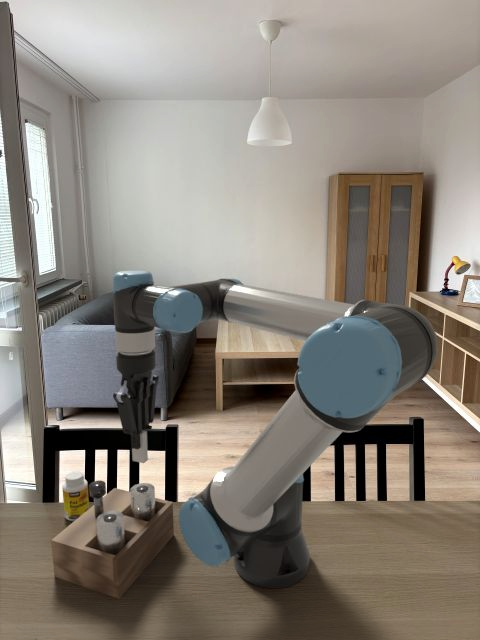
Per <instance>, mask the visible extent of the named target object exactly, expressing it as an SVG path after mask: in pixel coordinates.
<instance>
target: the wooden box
mask: <svg viewBox="0 0 480 640" xmlns="http://www.w3.org/2000/svg"><path fill="white" fill-rule="evenodd" d="M103 507H104V513H105V512H108V511H118V512H121V513H122V514H123V515H124V531H125V547H124V548H123V549H122V550H121V551H120V552H119V553H118V554H117V555H116V556H115V555H112V554H109V553H106V552H102V551H99V550H98V537H97V522H96V520H97V518H96V517H95V510H94V504H93V505H92V506H91V507H89V509H88V510H87V511H86V512H85V513H84V514H82V515H81V516H80V517H79V518H78V519H76V520H75V521H72V523H70V524H69V525H68V526H67V527H65V528H64V529H63V530H62V531H61V532H59V533H58V534H57V535H56V536H54V537H53V538H52V539H51V540H50V541H51V552H52V553H51V554H52V562H53V563H52V564H53V565H52V566H53V575H54V578H58V579H60V580H63V581H66V582H68V583H72V584H75V585H78V586H80V587H83V588H86V589H90V590H93V591H95V592H98V593H101V594H103V595H106V596H107V595H108V596H111V597H113V598H116V599H121V598H122V596H124V594H125V593H126V592H127V590H129V588H130V587H131V586H132V585H133V583H134V582H135V581H136V580H137V579H138V578H139V577H140V576H141V574H142V573H143V572H144V571H145V569H147V568H148V566H149V565H150V564H151V563H152V562H153V560H154V559H155V558H156V557H157V556H158V554H159V553H160V552H161V551H162V550H163V548H165V547H166V545H167V544H168V543H169V542H170V540H171V539H172V538H173V536H174V535H175V534H174V532H175V531H174V530H175V529H174V527H175V526H174V502H173V501H169V500H166V499H161V498H158V497H155V511H156V515H155V516H154V517H153V518H152V519H151V520H150V521H149V522H147V521H143V520H140V519H136V518H132V516H131V497H130V490H129V491H128V490H124V489H120V488H117V487H114V488H113V489H112V490H110V491H109V492H108V493H106V494H105V495H104V496H103Z"/></svg>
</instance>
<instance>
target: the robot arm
mask: <svg viewBox="0 0 480 640" xmlns="http://www.w3.org/2000/svg"><path fill="white" fill-rule="evenodd" d="M154 283H155V282H154V279H153V274H152V273H151V272H150V271H147V270H122V271H118V272H116V273H115V274H114V275H113V277H112V293H111V294H112V302H113V303H112V304H113V318H114V329H115V331H114V332H115V350H117V352H116V354H115V358H116V370H117V371H118V372H119V373H120V374H121V381H120V386H121V388H120V389H119V391H118V392H116V391H115V392H113V395H112V398H113V399H114V401H115V402H116V407H117V409H118V414H119V419H120V424H121V428H122V432H123V434H126V435H130V445H131V446H130V447H131V452H132V453H131V455H132V456H131V457H132V458H131V459H132V462H137V463H141V464H144V463H146V462H147V461H149V458H148V457H149V456H148V453H149V452H148V431H151V430H152V429H153V425H150V424H153V422H154V418H155V417H154V416H155V407H156V406H155V405H156V397H157V395H156V394H157V386H158V384H159V379H160V376H159V375H155V374H153V371H154V370H155V368H156V365H157V364H156V351H155V350H154V349H155V348H156V338H155V337H156V336H155V334H156V333H155V328H157V329H158V328H159V329H161V330H165V331H166V332H170V333H181V334H187V333H190V332H192V331H193V330H194V329H195V328H196V327H197V326H199V324H200V323H205V322H209V321H213V320H218V321H219V320H220V321H222V322H223V321H224V322H227V323H232V324H237V325H240V326H243V327H244V326H246V327H248V328H253V329H257V330H259V331H260V330H261V331H265V332H268V333H271V334H275V335H280V336H284V337H287V338H290V339H291V338H292V339H296V340H300V341H304V343H303V345H302V347H301V349H300V351H299V355H298V360H297V366H298V367H299V368H298V369H297V370H296V372H295V375H294V378H293V379H294V380H293V383H294V389H295V390H294V391H293V393H292V394H291V396H289V398H288V399H287V400H286V401H285V403H284V404H283V405H282V407H280V409H279V410H278V412H277V413H276V414H275V415H274V416H273V417H272V419H271V420H270V421H269V422H268V424H267V425H266V426H265V427H264V429H263V430H262V432H261V433H260V434H259V435H258V436H257V438H256V439H255V440H254V441H253V442H252V443H251V445H250V446H249V447H248V448H247V450H246V452H244V453H243V454H242V456H241V457H240V459H239V460H238V461H237V462H236V464H235V465H234V466H227V467H224V468H222V469H221V470H220V471H218V472H217V473H216V474H214V477H213V478H212V479H211V481H210V482H209V483H208V484H207V486H206V487H205V488H204V489H203V490H202V491H200V493H198V494H197V495H194V496H191V497H189V498H188V499H187V500H186V501H185V502H183V503H182V504H181V506H180V508H179V511H178V524H179V528H180V532H181V534H182V537H183V539H184V541H185V543H186V545H187V547H188V549H189V550H190V551H191V553H192V554H193V555H194V556H195V557H196V559H198V560H199V561H200V562H202V563H203V564H205V565H206V566H209V567H219V566H221V565H222V564H224V563H225V562H226V563H228V562H229V561H230V560H231V559H232V558H233V563H234V567H235V570H236V572H237V573H238V574H239V576H240V577H241V578H242V579H244V580H245V581H247V582H248V583H250V584H252V585H254V586H257V587H261V588H267V589H282V588H287V587H290V586H293V585H295V584H297V583H299V582H301V580H302V579H304V578H305V576H306V575H307V574H308V572H309V569H310V551H309V550H310V549H309V547H308V543H307V542H306V538H305V534H304V532H303V530H302V520H303V495H304V494H303V493H304V492H303V491H304V490H303V489H304V481H305V478H304V474H305V472H306V471H307V470H308V469H309V467H310V466H312V465H313V463H314V462H315V461H316V460H317V459H319V457H320V456H321V455H322V454H323V453H324V452H325V451H326V450H327V449H328V447H330V446H331V444H333V443H334V441H336V440H337V438H338V437H340V436H341V434H342V433H355V432H359V431H361V430H362V429H364V427H365V426H366V425H367V424H368V423H369V422H371V420H372V419H373V418H374V417H376V415H377V414H379V412H380V411H382V410H383V408H385V406H387V404H388V403H389V402H390V401H392V400H393V399H394V398H395V397H396V396H398V395H399V394H400V393H402V392H404V391H406V390H407V389H409V388H410V387H412V386H414V385H416V384H417V383H419V382H420V381H422V380H423V379H424V378H425V377H427V375H429V373H430V372H431V371H432V370H433V369H432V368H433V367H434V365H435V364H436V362H437V357H438V353H439V343H438V336H437V334H436V333H437V332H435V329H434V327H433V325H432V323H431V322H430V321H429V319H427V317H426V316H424V315H423V314H422V313H421V312H419V311H418V310H417V309H414V308H413V307H409V306H407V305H403V304H396V303H388V302H380V301H373V300H367V299H361V300H359V301H357V302H356V303H355V304H354V303H353V304H352V303H347V302H341V301H336V300H330V299H326V298H325V299H324V298H319V297H314V296H308V295H303V294H297V293H296V294H295V293H290V292H285V291H280V290H275V289H268V288H262V287H257V286H252V285H246V284H244V283H243V282H242V281H241V280H239V279H236V278H220V279H219V278H218V279H215V280H210V281H209V280H208V281H203V282H197V283H196V282H195V283H188V284H183V285H182V284H181V285H174V286H163V285H162V286H161V285H155V284H154Z"/></svg>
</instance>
